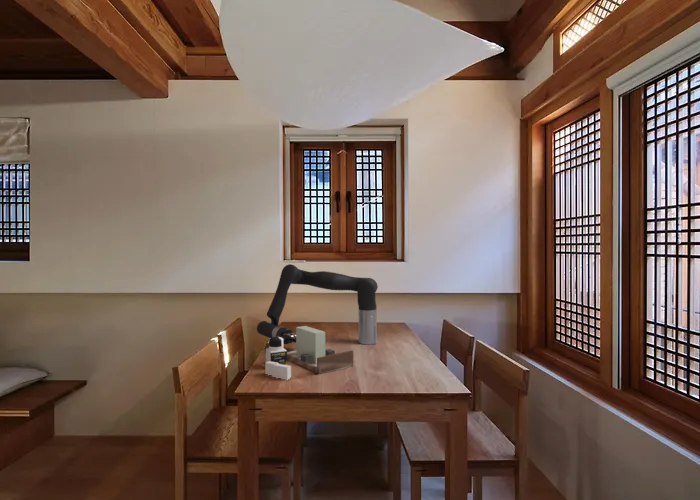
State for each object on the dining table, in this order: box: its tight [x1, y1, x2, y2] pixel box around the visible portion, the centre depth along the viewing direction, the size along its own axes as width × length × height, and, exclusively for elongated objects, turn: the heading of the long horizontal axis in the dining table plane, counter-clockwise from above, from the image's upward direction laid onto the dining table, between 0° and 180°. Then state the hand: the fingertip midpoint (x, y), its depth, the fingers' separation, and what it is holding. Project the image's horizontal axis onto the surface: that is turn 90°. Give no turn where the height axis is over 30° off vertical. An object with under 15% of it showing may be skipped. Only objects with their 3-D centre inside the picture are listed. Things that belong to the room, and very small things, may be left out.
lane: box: [287, 350, 354, 375], centre depth 186 cm, size 36×17×6 cm, turn 38°
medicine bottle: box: [265, 337, 288, 365], centre depth 178 cm, size 7×7×12 cm
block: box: [295, 325, 326, 364], centre depth 187 cm, size 16×5×13 cm, turn 38°
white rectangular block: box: [264, 361, 292, 381], centre depth 165 cm, size 15×11×6 cm
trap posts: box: [301, 348, 336, 364], centre depth 183 cm, size 4×15×4 cm, turn 128°
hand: (300, 341), depth 194 cm, fingers closed
